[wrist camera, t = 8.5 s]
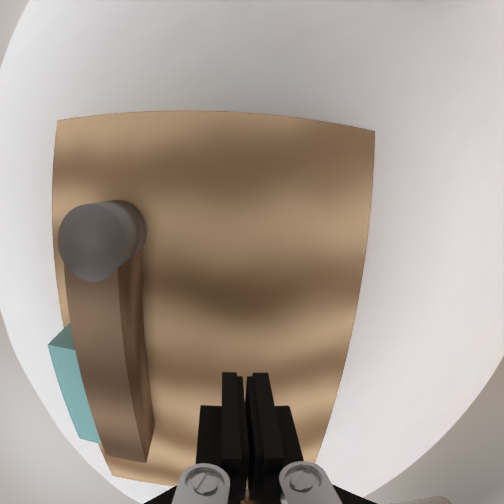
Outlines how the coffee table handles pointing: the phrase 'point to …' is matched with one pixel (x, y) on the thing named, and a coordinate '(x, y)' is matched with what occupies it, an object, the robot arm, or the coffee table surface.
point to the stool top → (229, 257)
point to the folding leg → (109, 321)
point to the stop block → (72, 384)
